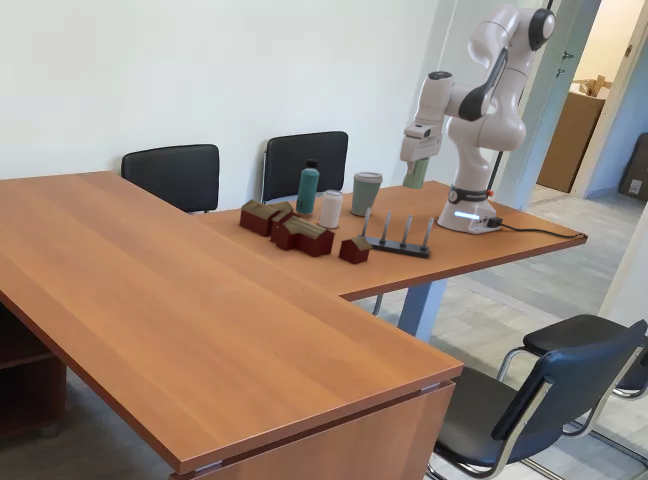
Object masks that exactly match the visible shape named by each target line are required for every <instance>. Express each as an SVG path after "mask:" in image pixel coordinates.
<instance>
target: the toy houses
mask: <svg viewBox="0 0 648 480" xmlns="http://www.w3.org/2000/svg"><path fill="white" fill-rule="evenodd" d="M239 209H241V210H240V217H239V226H240V227H242V228H244V229H247V230H249V231H251V232H253V233H255V234H257V235H260V236H262V237H264V238H270V242H272V243H275V247H277V248H279V249H281V250H283V251H286V252H287V251H291V250H297V251H299V252H301V253H303V254H306V255H308V256H310V257H312V258H317V257H322V256H326V255H331V254H332V251H333V246H334V240H335V236H336V233H335V232H333V231H331V230H330V229H328V228H323V227H321V226H320V225H318V224H316V223H313V222H310V221H308V220H305V219H303V218H302V216H301V215H299V213H297V212H296V213H295V212H294V211H296V208H295V207H294V206H292V204H291V203H290V202H289V201H287V200H285V201H280V202H275V203H269V204H264V203H261V202H259V201H257V200H254V199H250V200H248V201H247V202H246V203H244V204H243V205H242V206H241V207H240V208H239ZM357 237H358V236H357ZM357 237H352V238H347V239H343V240H339V242H340V248H339V252H338V258H339V259H342V260H344V261H346V262H348V263H350V264H352V265H357V264H361V263H365V262H368V260H369V255H370V251H371V247H372V246H371V245H370V244H369V243H368V241H367V240H366V239H365V238H364V237H358V238H357ZM369 245H370V246H369ZM372 248H373V247H372Z"/></svg>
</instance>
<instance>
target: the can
mask: <svg viewBox="0 0 648 480" xmlns="http://www.w3.org/2000/svg"><path fill="white" fill-rule="evenodd" d="M343 200H344V195H343V192H342V191H340V190H336V189H327V190H325V194H323V199H322V204H321V209H320V214H319V219H318V226H320V227H323V228H325V229H327V230H331V229H336V228H337V227H338V225H339V219H340V215H341V210H342V205H343Z"/></svg>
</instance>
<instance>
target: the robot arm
mask: <svg viewBox="0 0 648 480" xmlns="http://www.w3.org/2000/svg"><path fill="white" fill-rule="evenodd" d="M555 28H556V16H555V12H553V11H552V9H549V8H542V7H540V8H530V7H527V8H525V7H523V8H522V7H521V8H518V7H517V6H516V5H515V4H513V3H510V2H503V3H499V4H497V5H496V6H495V7H493V8H492V9H491V10H490V11H489V12H488V13H487V14H486V15H485V17H484V18H482V20H481V21H480V22H479V24H478V25H477V26H476V27H475V29H474V30H473V32H472V33H471V35H470V37H469V39H468V43H467V50H468V54H469V57H470V58H471V59H472V60H473V61H474V63H476V64H477V65H479V66H481V67H484V68H485V69H486V70H485V73H484V75H483V77H482V79H481V82H480V83H479V84H475V85H468V84H463V83H457V82H455V81H454V75H453V74H452V73H451V72H449V71H445V70H444V71H443V70H438V71H437V70H436V71H431V72H430V73H428V74H427V75H426V76H425V78H424V81H423V83H422V86H421V89H420V92H419V97H418V100H417V109H416V112H415V114H414V117H413V120H412V121H411V122H410V124H408V125H407V126H406V127H404V129H403V135H404V137H403V140H402V142H401V147H400V152H399V159H400V161H402V162H406V168H407V167H408V169H407V174H410V175H411V174H413V173H414V171H415V169H414V164H415V162H416V161H417V160H420V159H424V158H427V159H429V161H428V163H430V161H431V160H430V159H431V157H435V156H438V154H439V153H440V151H441V147H442V141H443V131H442V129H443V125H444V121H445V116H446V117H450V118H449V119H448V121H447V123H446V126H445V127H446V129H445V130H446V131H445V132H446V135H447V138H448V139H449V141H450V142H451V143H452V144H453V146H454V149H455V152H456V161H457V163H456V168H455V173H454V177H453V181H452V183H451V184H450V187H449V190H448V197H447V198H446V202H445V204H444V206H443V209H442V210H441V211H442V212H441V213H440V214H439V217H438V219H437V221H436V223H437V224H438V225H439V226H441V227H442V228H446V229H448V230H452V231H458V232H463V233H468V234H473V235H478V234H484V233H489V232H494V231H500V230H501V227H503V228H506V229H510V230H513V231H517V232H540V233H544V234H548V235H552V236H555V237H558V238H559V237H560V238H566V239H573V238H576V237H579V236H582V237H584V238H585V239H588V236H587V235H586V234H585V233H583V232H579V233H580V234H579V233H577V234H578V235H579V236H578V235H577V234H574V235H575V236H573V235H565V234H560V233H556V232H553V231H549V230H545V229H540V228H517V227H514V226H511V225H507V224H505V223H503V221H504V218H502V217H499V216H497V211H496V209H495V208H494V207H493V206H492V204H491V203H489V201H488V200H487V198H488V197H490V198H492V197H493V196H494V194H495V191H493V190H491V189H488V190H487V185H488V182H489V179H490V175H491V173H492V167H491V164H490V162H489V161H488V160H487V159H485V158H484V157H483V155H482V154H481V149H486V150H491V151H496V152H515V151H516V150H517V149H519V148H520V147H521V146H522V144H523V143H524V142H525V140H526V137H527V127H526V125H525V122H524V121H523V120H522V118H521V116H520V113H519V102H520V98H521V96H522V93H523V91H524V89H525V86H526V84H527V82H528V80H529V77H530V75H531V73H532V70H533V67H534V63H535V59H536V56H537V51H539V50H540V49H541V48H542V47H543V45H545V44H546V43H547V42H548V41H549V40H550V38H551V37H552V35H553V34H554V31H555ZM490 106H491V107H493V108H494V112H493V113H488V110H489V107H490ZM582 234H584V235H582ZM585 235H586V236H585Z"/></svg>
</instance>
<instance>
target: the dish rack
mask: <svg viewBox="0 0 648 480" xmlns="http://www.w3.org/2000/svg"><path fill="white" fill-rule="evenodd" d="M371 211H372V209H370V208H368V209H367V212H366V216H364V222H363V226H362V230H361V234H357V237H356V238H358V237H364V238H365V239H366V240H367V241H368V243H369V244H370V245H371V246H372V247H373V248H372V247H371V248H370V250H371V249H372V250H376V251H377V250H378V251H382V252H383V251H384V252H388V253H393V254H400V255H406V256H410V257H411V256H412V257H416V258H417V257H418V258H423V259H429V255H430V246H428V242H429V238H430V234H431V231H432V227H433V223H434V217H430V218H429V221H428V223H427V228H426V231H425V235H424V239H423V241H422V245H420V244H415V243H409V242H407V239H408V236H409V231H410V228H411V223H412V220H413V215H412V214H409V215H408V216H407V219H406V224H405V228H404V231H403V236H402V240H401V241H397V240H391V239H387V235H388V229H389V225H390V221H391V217H392V211H390V210H389V211H387V214H386V218H385V222H384V225H383V230H382V235H381V238H380V237H374V236H368V235H366V233H367V228H368V224H369V220H370V215H371ZM370 245H369V246H370Z"/></svg>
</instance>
